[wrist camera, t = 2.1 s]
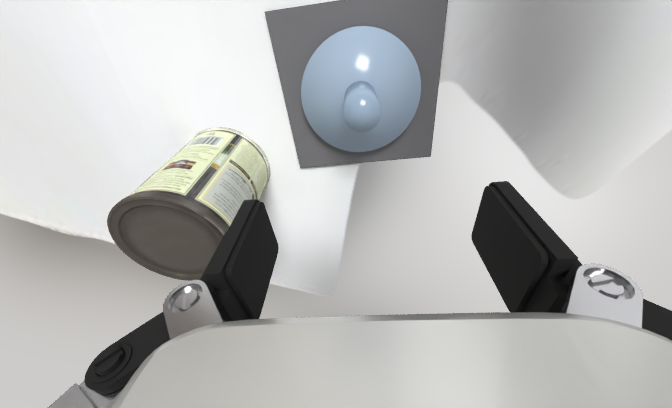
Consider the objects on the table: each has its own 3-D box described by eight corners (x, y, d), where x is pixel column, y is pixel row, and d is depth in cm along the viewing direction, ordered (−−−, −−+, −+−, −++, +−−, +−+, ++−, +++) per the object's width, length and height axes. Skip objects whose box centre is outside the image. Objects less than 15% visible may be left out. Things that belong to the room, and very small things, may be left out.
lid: (422, 16, 23) (442, 19, 18) (414, 142, 30) (427, 169, 25) (291, 35, 24) (276, 43, 19) (313, 152, 32) (307, 179, 27)
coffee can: (229, 207, 38) (179, 292, 27) (171, 150, 33) (80, 226, 21) (286, 179, 35) (257, 263, 23) (233, 110, 29) (162, 176, 18)
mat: (448, -16, 22) (449, -17, 22) (429, 154, 32) (430, 156, 31) (265, 11, 24) (264, 11, 23) (300, 166, 33) (300, 167, 33)
